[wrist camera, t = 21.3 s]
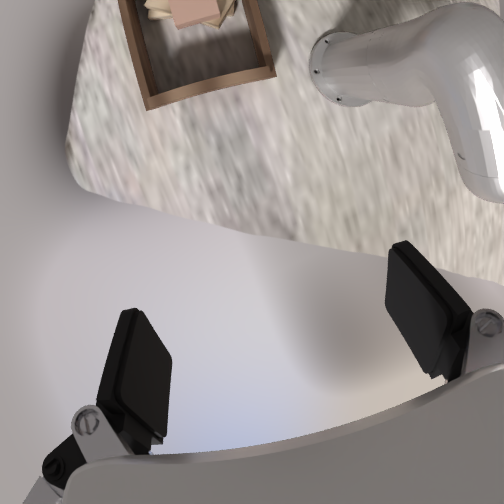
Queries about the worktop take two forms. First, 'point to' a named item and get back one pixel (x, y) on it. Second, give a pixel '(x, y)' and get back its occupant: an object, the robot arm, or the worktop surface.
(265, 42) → the wooden tray
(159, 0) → the offcut middle
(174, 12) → the offcut top
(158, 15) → the plate
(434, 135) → the worktop surface
